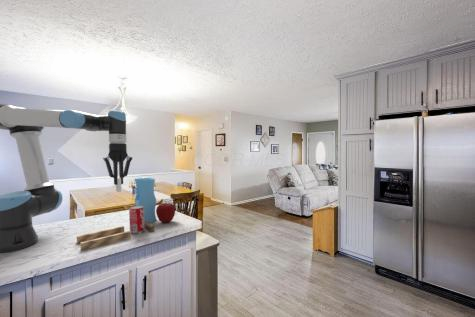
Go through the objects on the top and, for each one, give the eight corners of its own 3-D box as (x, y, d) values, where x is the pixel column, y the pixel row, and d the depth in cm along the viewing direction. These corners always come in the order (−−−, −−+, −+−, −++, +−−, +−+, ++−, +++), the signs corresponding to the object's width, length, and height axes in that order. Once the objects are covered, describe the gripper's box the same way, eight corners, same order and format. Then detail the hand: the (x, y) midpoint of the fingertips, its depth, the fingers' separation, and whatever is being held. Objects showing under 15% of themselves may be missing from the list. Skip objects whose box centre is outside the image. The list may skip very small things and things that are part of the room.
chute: (81, 250, 95) (81, 243, 95) (76, 242, 104) (76, 236, 104) (131, 237, 109) (130, 231, 109) (123, 231, 117) (123, 225, 117)
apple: (160, 226, 125) (159, 205, 124) (153, 221, 133) (153, 202, 132) (178, 222, 132) (178, 202, 131) (171, 218, 140) (171, 199, 139)
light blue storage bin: (135, 219, 137) (134, 178, 136) (151, 216, 143) (150, 177, 142) (139, 223, 130) (138, 180, 129) (156, 220, 136) (155, 179, 135)
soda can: (143, 233, 114) (142, 208, 114) (128, 234, 113) (127, 209, 112) (146, 228, 121) (145, 204, 121) (131, 229, 120) (131, 205, 119)
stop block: (150, 232, 115) (150, 226, 115) (141, 226, 124) (141, 221, 124) (154, 231, 117) (154, 226, 117) (145, 226, 125) (145, 220, 125)
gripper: (104, 142, 103) (105, 194, 104) (134, 143, 112) (135, 190, 112) (100, 143, 108) (101, 191, 109) (129, 143, 117) (130, 188, 118)
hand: (118, 191), depth 111 cm, fingers closed
